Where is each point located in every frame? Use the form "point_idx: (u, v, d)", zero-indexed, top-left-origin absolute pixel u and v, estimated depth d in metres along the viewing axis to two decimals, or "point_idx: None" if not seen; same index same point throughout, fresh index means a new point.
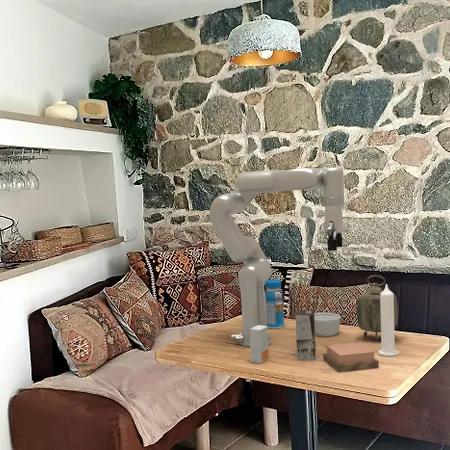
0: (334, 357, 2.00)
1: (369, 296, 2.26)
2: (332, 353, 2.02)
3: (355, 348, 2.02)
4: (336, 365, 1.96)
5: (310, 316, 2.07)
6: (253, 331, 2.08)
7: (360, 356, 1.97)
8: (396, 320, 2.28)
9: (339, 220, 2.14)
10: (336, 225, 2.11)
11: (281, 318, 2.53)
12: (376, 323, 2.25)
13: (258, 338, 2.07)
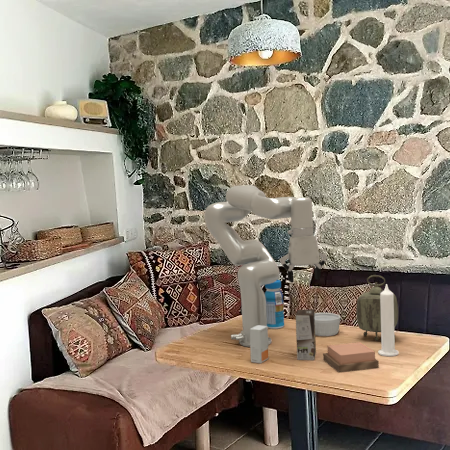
0: (335, 357, 2.00)
1: (369, 296, 2.26)
2: (333, 352, 2.02)
3: (356, 348, 2.02)
4: (336, 365, 1.96)
5: (310, 316, 2.07)
6: (253, 331, 2.08)
7: (361, 356, 1.97)
8: (396, 320, 2.28)
9: None
10: None
11: (281, 318, 2.53)
12: (376, 323, 2.25)
13: (258, 338, 2.07)
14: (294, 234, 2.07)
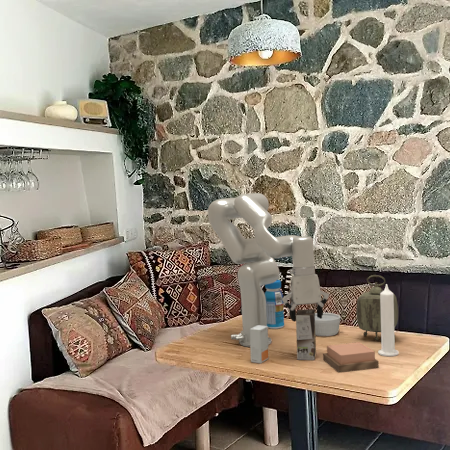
0: (335, 357, 2.00)
1: (369, 296, 2.26)
2: (333, 353, 2.02)
3: (356, 348, 2.02)
4: (336, 365, 1.96)
5: (310, 316, 2.07)
6: (253, 331, 2.08)
7: (361, 356, 1.97)
8: (396, 320, 2.28)
9: None
10: None
11: (281, 318, 2.53)
12: (376, 323, 2.25)
13: (258, 338, 2.07)
14: (296, 273, 2.08)
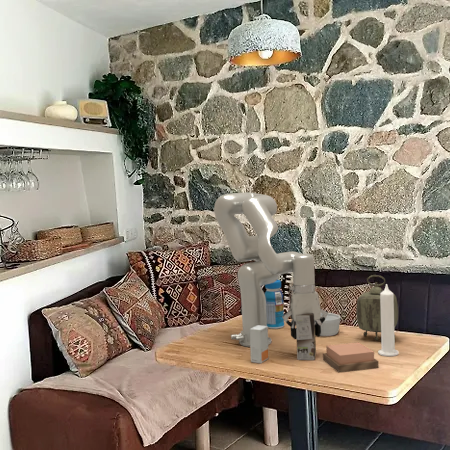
0: (334, 357, 2.00)
1: (369, 296, 2.26)
2: (332, 353, 2.02)
3: (355, 349, 2.02)
4: (336, 365, 1.96)
5: (310, 316, 2.07)
6: (253, 331, 2.08)
7: (360, 356, 1.97)
8: (396, 320, 2.28)
9: None
10: None
11: (281, 318, 2.53)
12: (376, 323, 2.25)
13: (258, 338, 2.07)
14: (296, 291, 2.09)
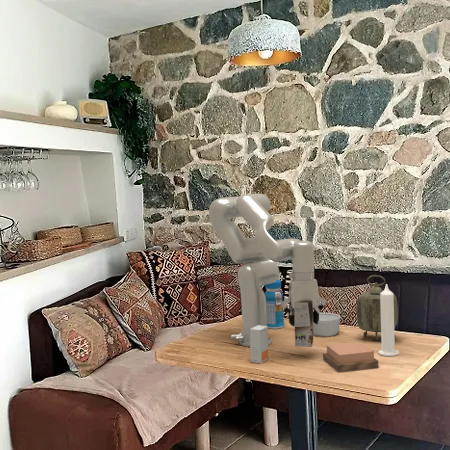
0: (334, 357, 2.01)
1: (369, 296, 2.26)
2: (332, 352, 2.02)
3: (355, 348, 2.02)
4: (336, 365, 1.96)
5: (309, 303, 2.07)
6: (253, 331, 2.08)
7: (360, 356, 1.97)
8: (396, 320, 2.28)
9: None
10: None
11: (281, 318, 2.53)
12: (376, 323, 2.25)
13: (258, 338, 2.07)
14: (295, 278, 2.09)
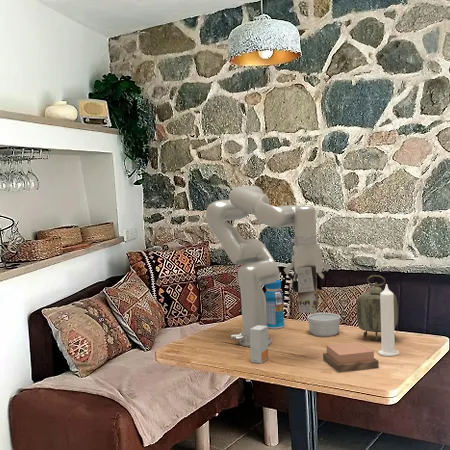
0: (334, 357, 2.00)
1: (369, 296, 2.26)
2: (332, 352, 2.02)
3: (355, 348, 2.02)
4: (336, 365, 1.96)
5: (312, 268, 2.05)
6: (253, 331, 2.08)
7: (360, 356, 1.97)
8: (396, 320, 2.28)
9: None
10: None
11: (281, 318, 2.53)
12: (376, 323, 2.25)
13: (258, 338, 2.07)
14: (298, 243, 2.07)
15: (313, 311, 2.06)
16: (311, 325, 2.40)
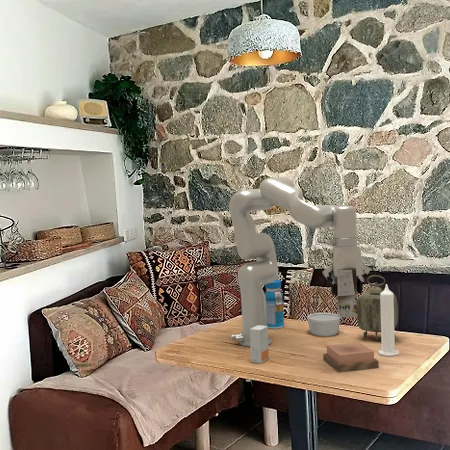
0: (334, 357, 2.01)
1: (369, 296, 2.26)
2: (332, 352, 2.02)
3: (355, 348, 2.02)
4: (336, 365, 1.96)
5: (353, 270, 1.96)
6: (253, 331, 2.08)
7: (360, 356, 1.97)
8: (396, 320, 2.28)
9: None
10: None
11: (281, 318, 2.53)
12: (376, 323, 2.25)
13: (258, 338, 2.07)
14: (337, 244, 1.97)
15: (353, 316, 1.97)
16: (311, 325, 2.40)
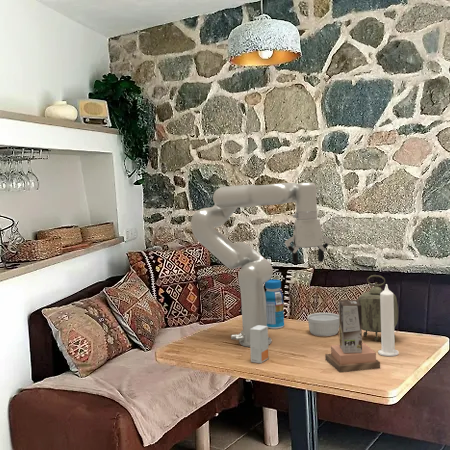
0: (336, 357, 2.01)
1: (369, 296, 2.26)
2: (335, 353, 2.02)
3: None
4: (337, 366, 1.96)
5: (358, 306, 1.96)
6: (253, 331, 2.08)
7: (362, 357, 1.97)
8: (396, 320, 2.28)
9: None
10: None
11: (281, 318, 2.53)
12: (376, 323, 2.25)
13: (258, 338, 2.07)
14: (299, 217, 2.17)
15: (358, 351, 1.97)
16: (311, 325, 2.40)
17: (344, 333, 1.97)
